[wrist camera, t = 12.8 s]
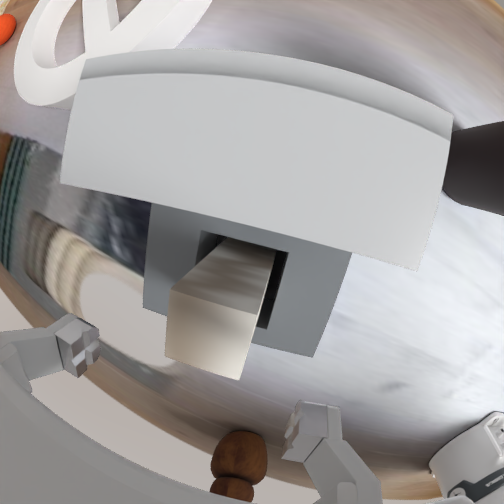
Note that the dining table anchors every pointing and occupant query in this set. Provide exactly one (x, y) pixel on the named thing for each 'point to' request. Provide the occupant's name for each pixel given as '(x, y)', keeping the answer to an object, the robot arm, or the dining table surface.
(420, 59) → the dining table surface
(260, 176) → the socket block
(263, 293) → the peg
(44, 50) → the ring with crossbar
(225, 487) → the wooden figurine
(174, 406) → the dining table surface
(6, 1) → the coffeecake box
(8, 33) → the clementine
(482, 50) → the dining table surface
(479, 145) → the bottle
